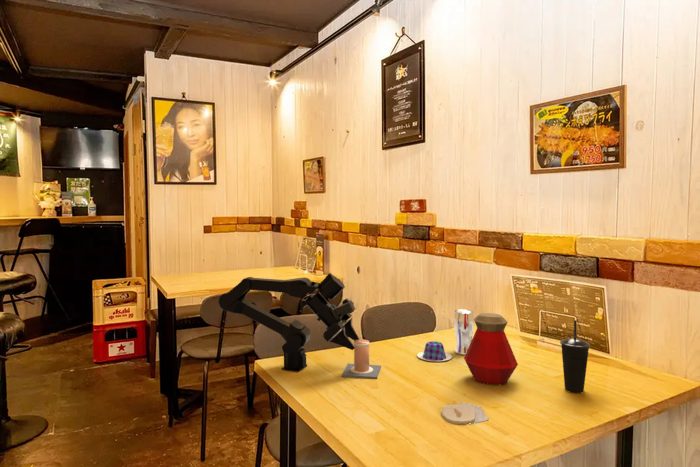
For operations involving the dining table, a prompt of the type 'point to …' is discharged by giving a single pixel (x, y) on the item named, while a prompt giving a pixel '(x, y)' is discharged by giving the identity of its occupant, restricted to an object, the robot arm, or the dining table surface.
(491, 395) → the dining table surface
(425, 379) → the dining table surface
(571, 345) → the drinking cup
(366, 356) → the terracotta tube
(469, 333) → the beer glass
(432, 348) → the pudding
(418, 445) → the dining table surface
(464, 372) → the dining table surface
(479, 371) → the bottle
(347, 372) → the card
